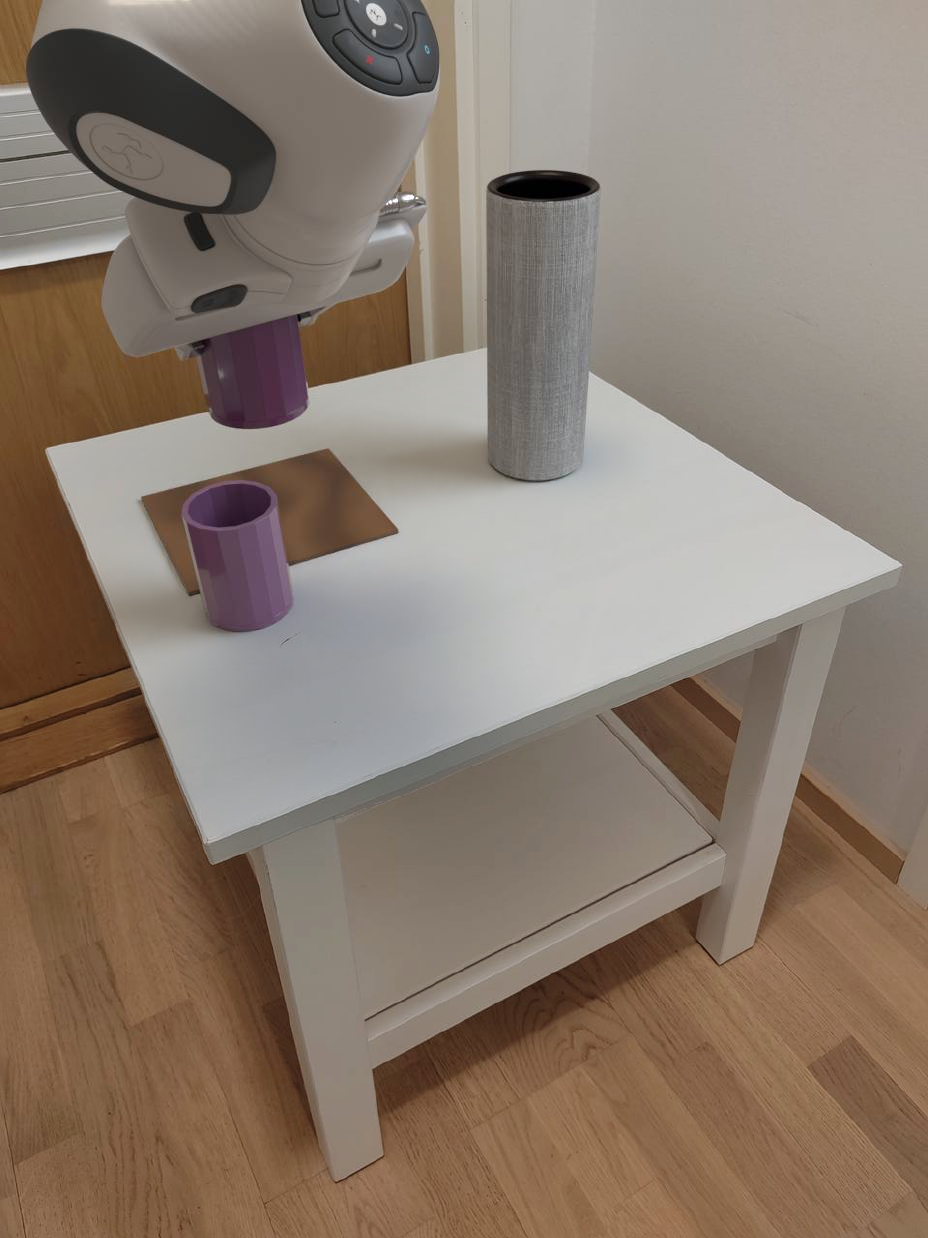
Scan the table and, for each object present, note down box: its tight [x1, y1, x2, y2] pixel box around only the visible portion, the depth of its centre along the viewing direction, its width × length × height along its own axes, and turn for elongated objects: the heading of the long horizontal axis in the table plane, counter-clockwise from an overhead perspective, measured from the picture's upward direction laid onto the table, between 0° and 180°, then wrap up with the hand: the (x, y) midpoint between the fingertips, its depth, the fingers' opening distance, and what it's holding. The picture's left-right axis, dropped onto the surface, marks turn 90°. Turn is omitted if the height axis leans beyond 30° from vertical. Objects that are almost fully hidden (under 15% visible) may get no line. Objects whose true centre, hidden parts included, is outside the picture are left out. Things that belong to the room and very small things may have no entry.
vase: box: [485, 169, 602, 482], centre depth 92 cm, size 10×10×27 cm
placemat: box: [140, 447, 399, 596], centre depth 92 cm, size 20×18×1 cm
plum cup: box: [196, 314, 310, 430], centre depth 68 cm, size 7×7×10 cm
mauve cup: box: [181, 480, 294, 632], centre depth 78 cm, size 7×7×10 cm
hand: (243, 332), depth 68 cm, fingers closed on plum cup, 7 cm apart
